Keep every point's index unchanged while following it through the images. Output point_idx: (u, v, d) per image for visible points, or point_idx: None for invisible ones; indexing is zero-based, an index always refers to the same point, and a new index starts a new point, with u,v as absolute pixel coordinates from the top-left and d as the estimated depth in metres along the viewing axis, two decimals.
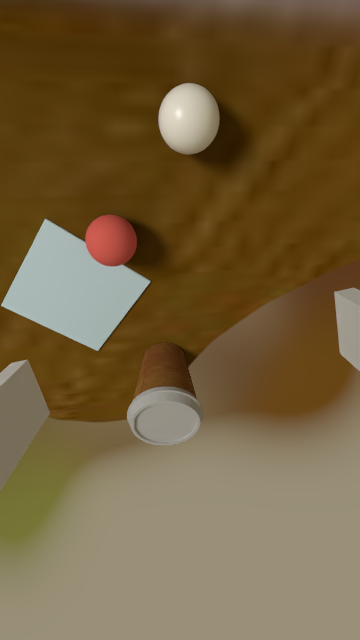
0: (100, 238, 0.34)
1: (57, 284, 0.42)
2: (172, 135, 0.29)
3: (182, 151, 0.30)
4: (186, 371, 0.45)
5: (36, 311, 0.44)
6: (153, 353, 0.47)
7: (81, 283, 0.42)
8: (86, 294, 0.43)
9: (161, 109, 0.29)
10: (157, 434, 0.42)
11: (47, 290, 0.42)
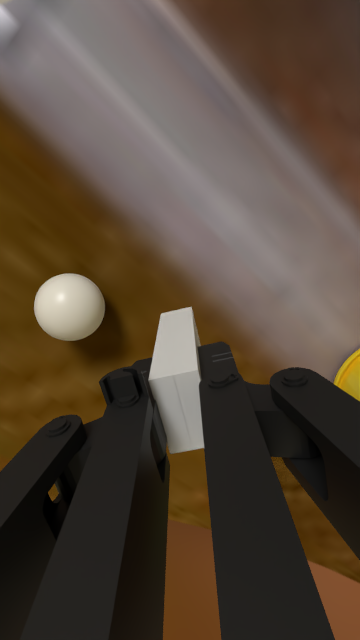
0: None
1: None
2: (38, 311, 0.25)
3: (42, 328, 0.27)
4: None
5: None
6: None
7: None
8: None
9: (47, 282, 0.26)
10: None
11: None
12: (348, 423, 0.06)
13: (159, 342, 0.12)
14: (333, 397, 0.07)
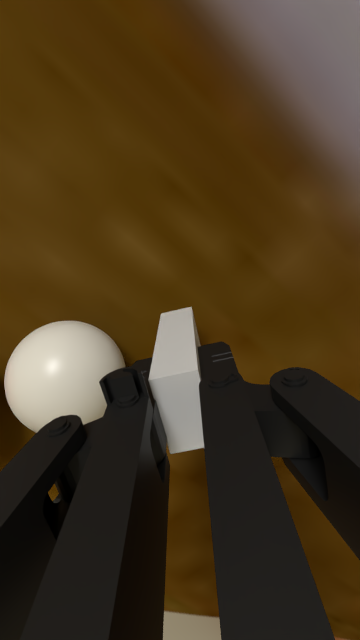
0: None
1: None
2: None
3: None
4: None
5: None
6: None
7: None
8: None
9: (60, 321, 0.16)
10: None
11: None
12: (348, 423, 0.06)
13: (159, 342, 0.12)
14: (333, 397, 0.07)
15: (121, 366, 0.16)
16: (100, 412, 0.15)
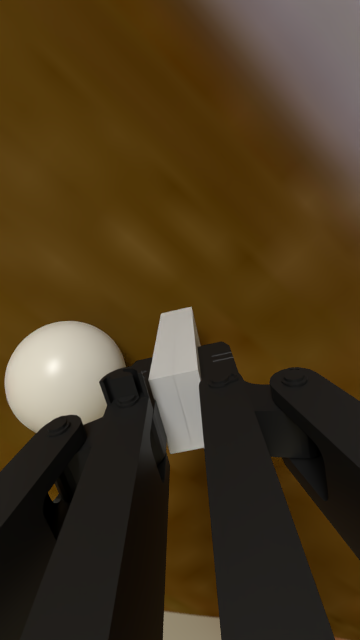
0: None
1: None
2: None
3: None
4: None
5: None
6: None
7: None
8: None
9: None
10: None
11: None
12: (348, 423, 0.06)
13: (159, 342, 0.12)
14: (332, 397, 0.07)
15: (121, 366, 0.16)
16: (101, 412, 0.15)
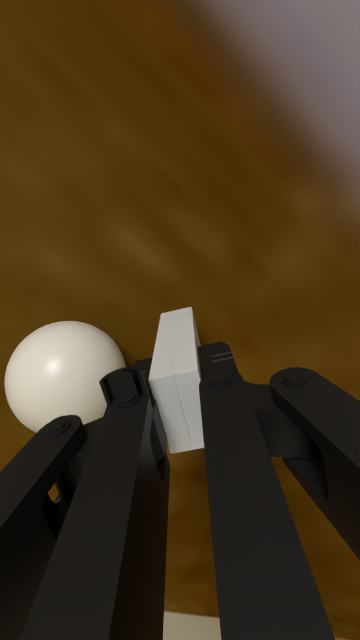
0: None
1: None
2: None
3: None
4: None
5: None
6: None
7: None
8: None
9: None
10: None
11: None
12: (348, 423, 0.06)
13: (159, 342, 0.12)
14: (332, 397, 0.07)
15: (121, 366, 0.16)
16: (101, 412, 0.15)
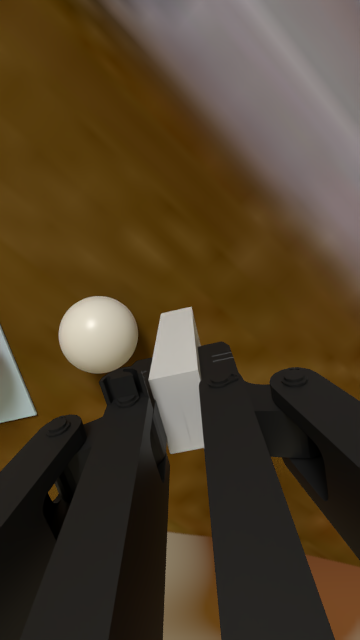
0: None
1: None
2: None
3: None
4: None
5: None
6: None
7: None
8: None
9: None
10: None
11: None
12: (348, 423, 0.06)
13: (159, 342, 0.12)
14: (333, 397, 0.07)
15: (135, 325, 0.23)
16: (122, 353, 0.22)
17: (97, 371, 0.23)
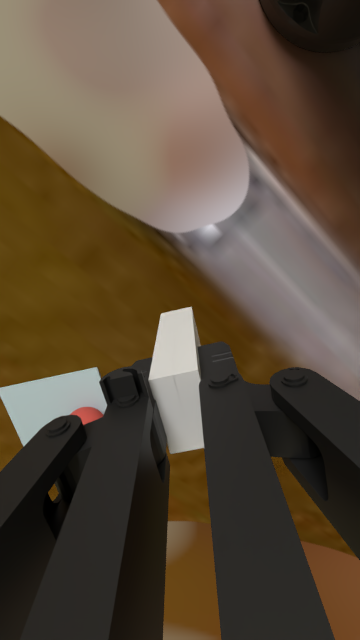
0: None
1: (58, 408, 0.46)
2: None
3: None
4: None
5: (20, 412, 0.46)
6: None
7: None
8: None
9: None
10: None
11: (46, 405, 0.46)
12: (348, 423, 0.06)
13: (159, 342, 0.12)
14: (333, 397, 0.07)
15: None
16: None
17: None
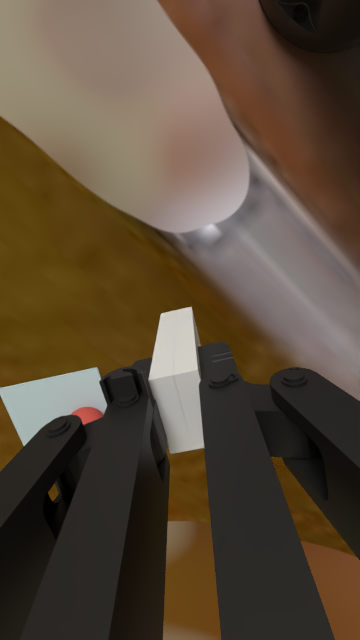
0: None
1: (58, 408, 0.46)
2: None
3: None
4: None
5: (20, 412, 0.46)
6: None
7: None
8: None
9: None
10: None
11: (46, 405, 0.46)
12: (348, 423, 0.06)
13: (159, 342, 0.12)
14: (333, 397, 0.07)
15: None
16: None
17: None
